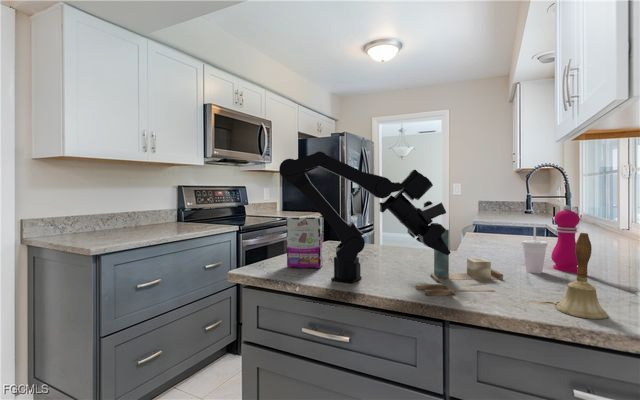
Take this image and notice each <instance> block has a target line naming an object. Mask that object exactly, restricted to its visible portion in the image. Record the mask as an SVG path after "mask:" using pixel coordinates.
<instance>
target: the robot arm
mask: <svg viewBox="0 0 640 400" xmlns="http://www.w3.org/2000/svg"><path fill="white" fill-rule="evenodd" d="M317 168H318V169H319V168H322V169H323V170H326V171H328V172H331V173H333V174H335V175H337V176H338V177H339V176H340V177H341V178H344V179H346V180H348V181H350V182H352V183H354V184H356V185H358V186H359V187H360V188H361V189H363V190H364V191H365V192H367V193H368V194H370V195H371V196H373V197H374V198H377V199H385V198H387V199H386V200H385V201H384V202H378V205H379V212H380V213H385V211H387V210H388V211H389V212H390V213H391V214H392V215H393V216H394V217H395V218H396V219H397V220H398V221H399V223H401V225H403V226H404V227H405V228H406V229H407V234H408V235H409V236H410V237H412V238H413V239H415V238H416V241H417V242H419V243H422V244H423V245H424V246H425V247H427V248H429V249H433V251H434V250H437V251H439V252H441V253H443V254H446V255H451V251H450V248H449V249H448V247H447V246H446V244H445V242H444V241H443V239H442V234H443V233H444V232H445V231H446V229H447V228H445V227H444V226H443V225H442V224H441V223H438V222H434V221H433V219H435V218H437V217H440V216H442V215H443V216H444V215H445V214H447V211H446V208H445V207H444V204H443V202H442V201H434V202H431V201H430V200H427V201H425V202H423V207H422V208H420V207H417V206H415V205H414V204H413V203H412V202H413V201H414V200H416V201H419V200H420V199H421V198H422V197H424V195H425V194H426V193H427V192H428V191H429V190H431V188H433V186H434V185H433V183H432V182H431V180H430V179H429V178H428V177H427V176H424V175H423V174H422V173H420V172H419V171H418V170H416V169H413V170H411V171H410V172H409V174H408V175H407V176H406V177H405V178H404V179H403V180H402V181H401V183H400V182H399V181H397V182H392V181H391V180H390V179H389V178H387V177H385V176H381V175H378V174H373V173H368V172H365V171H362V170H359V169H357V168H356V167H354V166H352V165H349V164H347V163H346V162H342V161H341V160H338V159H337V158H334V157H332V156H330V155H328V154H326V153H325V152H324V151H320V150H319V151H317V152H314V153H311V154H309V155H305V156H303V157H299V158H296V159H294V158H286V159H284V160H283V161H282V162H281V163H280V164H279V171H278V172H279V174H280V176H281V177H282V178H283V179H284V180H286V181H287V182H288V183H290V185H292V186H293V187H294V188H295V189H297V190H298V191H300V192H301V193H302V194H303V196H304V197H305V198H306V199H307V200H308V201H309V202H310V204H311V205H312V206H313V207H314V208H315V210H316V211H317V212H318V214H320V215H321V216H322V218H323V219H324V220H325V221H326V222H327V223H328V225H330V227H331V228H332V229H333V231H334V233H335V234H336V236H337V238H338V240H339V241H340V243H339V244H338V245H337V246H336V247H335V255H336V256H334V257H333V276H332V277H331V278H330V279H331V281H333V282H334V281H335V282H341V283H349V284H353V283H355V282H357V281H359V280H361V279H362V278H363V277H362V276H361V263H360V257H359V256H358V255H359V253H361V252H363V250H364V248H365V244H366V243H365V238H364V237H363V236H364V232H362V230H360V229H359V228H357V226H356V224H355V223H354V221H353V220H352V221H351V222H350V223H348V222H347V221H345V220H344V219H343V218H342V217H341V215H340V214H338V212H337V211H336V210H335V209H334V208H333V206H332V205H331V204H330V202H328V201H327V200H326V198H325V197H324V196H323V195H322V194H321V192H320V191H319V190H318V189H317V188H316V186H314V184H313V183H312V182H311V179H310V178H309V176H308V174H307V173H308V172H311V171H313V170H315V169H317ZM396 192H397V193H396ZM392 193H396V195H394V196H393V195H392ZM410 200H411V201H412V202H411V201H410Z"/></svg>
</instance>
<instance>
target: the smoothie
mask: <svg viewBox="0 0 640 400" xmlns="http://www.w3.org/2000/svg"><path fill="white" fill-rule="evenodd" d="M521 245H522V251H523V259H524V266H525V272H527V273H530V274H531V273H532V274H542V273H543V267H544V263H545V258H546V250H547V247H548V242H547V241H544V240H537V227H536V226H533V239H525V240H521Z"/></svg>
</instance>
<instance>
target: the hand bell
mask: <svg viewBox="0 0 640 400" xmlns="http://www.w3.org/2000/svg"><path fill="white" fill-rule="evenodd" d="M575 242H576V246H575V254H576V258H577V262H578V265H577V267H578V269H577V274H576V278H575V281H572V282H569V283H567V289H566V292H565V295H564V297H563V299H562V300H561V301H560V302H558V303H557V304H556V305H555V307H556V310H558V311H559V312H561V313H564V314H566V315H569V316H573V317H578V318H583V319H589V320H604V319H607V318H608V317H609V314H608V313H607V311H606V310H604V309H603V307H602V306H601V304H600V302H599V299H598V295H597V289H596V287H595V286H594V285H593V284H591V283H590V282H588V277H589V276H588V265H589V263H590V262H589V261H590V259H591V256H592V252H593V251H592V250H593V249H592V243H591V240H590V237H589V233H587V232H579V236H578V238H577V240H576V241H575Z"/></svg>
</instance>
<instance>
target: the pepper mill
mask: <svg viewBox="0 0 640 400" xmlns="http://www.w3.org/2000/svg"><path fill="white" fill-rule="evenodd" d="M562 209H563V210H559V211H558V212H556V213H555V215H554V217H553V218H554V219H553V220H554V223H555V224H556V225H557V226H555V227H556V230H555V231H556V232H557V240H556V243H555V246H554V248H553V250H552V251H551V257H550V258H551V260H552V261H553V263H554V264H553V265H552V268H553V270H556V271H559V272H560V271H561V272H565V273H566V272H568V273H571V274H575V275H577V269H578V262H577V258H576V254H575V246H576V242H577V241H576V233H578V230H577V229H578V227H577V226H578V224H580V216H579V214H578V213H576V212H575V211H573V210H571V206H570V205H569V204H566V205H564V206H563V207H562Z"/></svg>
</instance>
